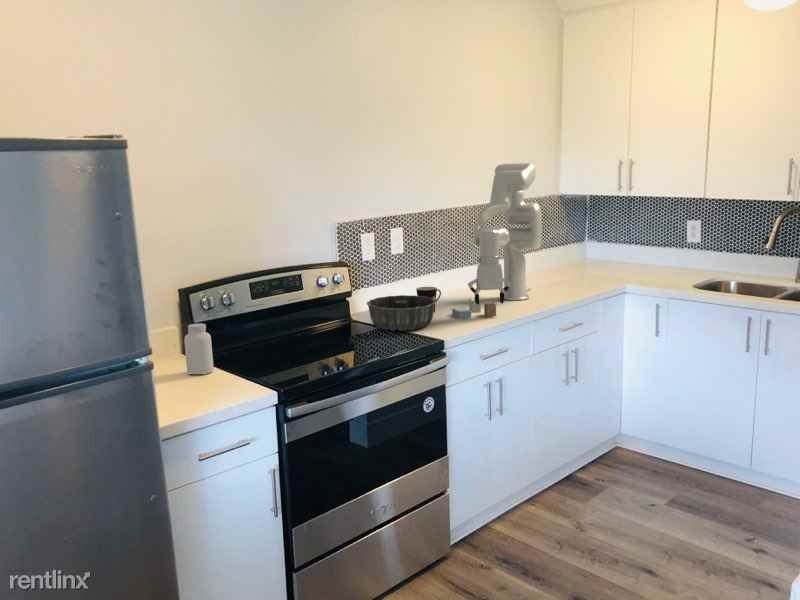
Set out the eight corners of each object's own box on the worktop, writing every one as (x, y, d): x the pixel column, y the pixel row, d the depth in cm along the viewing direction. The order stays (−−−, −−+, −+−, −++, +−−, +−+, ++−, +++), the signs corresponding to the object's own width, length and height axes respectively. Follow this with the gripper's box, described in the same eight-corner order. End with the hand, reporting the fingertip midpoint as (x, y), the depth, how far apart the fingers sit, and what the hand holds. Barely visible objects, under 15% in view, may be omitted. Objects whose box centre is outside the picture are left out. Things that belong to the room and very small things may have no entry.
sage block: (469, 309, 307) (469, 298, 306) (477, 309, 307) (477, 297, 306) (472, 312, 301) (472, 300, 300) (480, 312, 301) (480, 300, 300)
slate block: (452, 315, 298) (452, 308, 297) (463, 314, 299) (463, 307, 299) (459, 319, 290) (459, 311, 290) (471, 317, 292) (471, 310, 291)
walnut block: (484, 314, 296) (484, 302, 295) (492, 314, 296) (492, 302, 296) (487, 317, 290) (487, 305, 289) (496, 317, 291) (496, 304, 290)
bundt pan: (451, 325, 279) (450, 299, 277) (402, 338, 261) (401, 310, 259) (402, 316, 298) (402, 292, 296) (353, 328, 280) (352, 302, 278)
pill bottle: (216, 368, 230) (212, 321, 227) (210, 375, 222) (206, 327, 219) (190, 369, 230) (186, 322, 227) (184, 376, 222) (179, 328, 219)
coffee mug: (420, 314, 300) (419, 290, 298) (414, 311, 308) (413, 287, 306) (447, 312, 303) (446, 288, 301) (440, 308, 311) (440, 285, 309)
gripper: (469, 262, 285) (469, 305, 287) (513, 260, 286) (513, 304, 289) (466, 260, 292) (466, 302, 295) (508, 259, 294) (508, 301, 296)
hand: (489, 303), depth 292 cm, fingers open, 9 cm apart
